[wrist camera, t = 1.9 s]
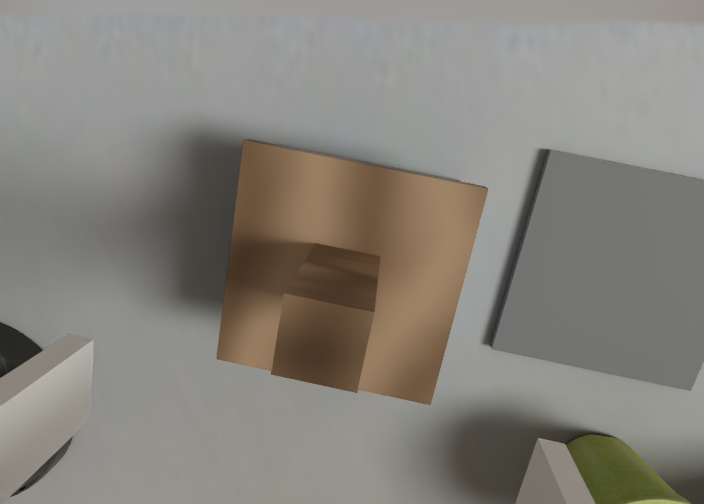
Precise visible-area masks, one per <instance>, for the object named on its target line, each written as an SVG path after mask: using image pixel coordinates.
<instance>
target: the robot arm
mask: <svg viewBox="0 0 704 504" xmlns="http://www.w3.org/2000/svg"><path fill="white" fill-rule="evenodd" d="M93 345H94V339H90V338H85V337H81V336H76V335H71V334H68V335H66V336H65V337H63V338H62V339H60V340H59V341H57V342H56V343H54V344H53V345H51V346H49V347H48V348H46V349H45V350H43V351H42V350H41V349H40V348H39V347H38V346H37V345H36V344H35V343H33V342H32V341H31V340H29V339H28V338H27V337H25V336H24V335H22V334H21V333H19V332H17V331H15V330H14V329H12V328H10V327H7V326H5V325H3V324H0V504H3V503H4V502H5V501H6V500H7V499H8V498H9V497H11V496H14V495H17V494H19V493H21V492H23V491H24V490H26V489H28V488H30V487H31V486H33V485H34V484H35V483H37V482H38V481H39V480H40V479H41V478H43V477H44V476H45V475H46V474H47V473H48V472H49V471H50V470H51V469H52V468H53V467H54V466H55V465H56V464H57V463H58V461H59V460H60V459H61V458H62V457H63V456H64V454H65V453H66V451H67V449H68V447H69V445H70V443H71V440H72V437H73V435H74V434H75V433H76V432H77V431H78V430H80V429H81V428H82V427H83V426H84V425H85V424H86V423H87V422H88V421H89V420H90V416H91V392H92V369H93ZM515 504H595V502H594V500H593V498H592V496H591V494H590V492H589V490H588V488H587V486H586V484H585V482H584V480H583V478H582V476H581V474H580V472H579V470H578V468H577V466H576V464H575V463H574V461H573V459H572V457H571V455H570V453H569V451H568V449H567V447H566V445H565V444H563V443H559V442H554V441H550V440H545V439H541V438H538V439H537V442H536V445H535V448H534V451H533V454H532V456H531V459H530V462H529V465H528V468H527V471H526V474H525V477H524V480H523V482H522V485H521V488H520V491H519V494H518V497H517V500H516V503H515Z"/></svg>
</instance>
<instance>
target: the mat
mask: <svg viewBox="0 0 704 504" xmlns="http://www.w3.org/2000/svg"><path fill="white" fill-rule="evenodd" d="M490 346H491V348H492V349H494V350H499V351H504V352H509V353H513V354H518V355H523V356H528V357H532V358H537V359H542V360H547V361H551V362H556V363H561V364H566V365H570V366H575V367H580V368H585V369H589V370H594V371H599V372H604V373H608V374H613V375H618V376H623V377H627V378H632V379H637V380H642V381H646V382H651V383H656V384H661V385H665V386H670V387H675V388H680V389H684V390H689V391H691V389H692V387H693V385H694V382H695V380H696V378H697V375H698V373H699V371H700V368H701V366H702V364H703V362H704V180H701V179H696V178H691V177H686V176H681V175H676V174H671V173H665V172H660V171H655V170H650V169H645V168H640V167H635V166H630V165H625V164H620V163H614V162H609V161H604V160H599V159H594V158H589V157H584V156H579V155H574V154H569V153H564V152H558V151H553V150H548V151H547V155H546V158H545V161H544V165H543V168H542V172H541V175H540V178H539V182H538V185H537V189H536V192H535V195H534V199H533V202H532V205H531V209H530V212H529V216H528V219H527V222H526V226H525V229H524V233H523V236H522V239H521V243H520V246H519V249H518V253H517V256H516V260H515V263H514V266H513V270H512V273H511V276H510V280H509V283H508V287H507V290H506V293H505V297H504V300H503V304H502V307H501V310H500V314H499V317H498V320H497V324H496V327H495V331H494V334H493V337H492V341H491V344H490Z"/></svg>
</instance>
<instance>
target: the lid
mask: <svg viewBox="0 0 704 504" xmlns="http://www.w3.org/2000/svg"><path fill="white" fill-rule="evenodd" d="M487 192H488V188H486V187H485V186H480V185H475V184H470V183H465V182H460V181H455V180H450V179H445V178H440V177H435V176H430V175H425V174H420V173H415V172H410V171H405V170H400V169H395V168H390V167H385V166H380V165H375V164H370V163H365V162H360V161H355V160H350V159H345V158H340V157H335V156H330V155H325V154H320V153H315V152H310V151H305V150H300V149H295V148H290V147H285V146H280V145H275V144H270V143H265V142H260V141H255V140H250V139H248V140H243V147H242V156H241V164H240V172H239V180H238V188H237V196H236V204H235V212H234V221H233V229H232V237H231V245H230V253H229V261H228V269H227V278H226V286H225V294H224V302H223V310H222V318H221V326H220V334H219V343H218V351H217V359H219V360H223V361H228V362H233V363H237V364H242V365H247V366H251V367H256V368H261V369H265V370H270V371H271V374H272V375H277V376H281V377H286V378H290V379H295V380H300V381H304V382H309V383H314V384H318V385H323V386H328V387H332V388H337V389H342V390H346V391H351V392H355V393H357V391H358V390H363V391H367V392H372V393H377V394H381V395H386V396H391V397H395V398H400V399H405V400H409V401H414V402H419V403H423V404H428V405H431V401H432V397H433V394H434V390H435V386H436V382H437V379H438V375H439V371H440V367H441V364H442V360H443V356H444V353H445V349H446V345H447V341H448V338H449V334H450V330H451V326H452V323H453V319H454V315H455V311H456V308H457V304H458V300H459V297H460V293H461V289H462V285H463V282H464V278H465V274H466V270H467V267H468V263H469V259H470V255H471V252H472V248H473V244H474V241H475V237H476V233H477V229H478V226H479V222H480V218H481V214H482V211H483V207H484V203H485V199H486V196H487Z"/></svg>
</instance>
